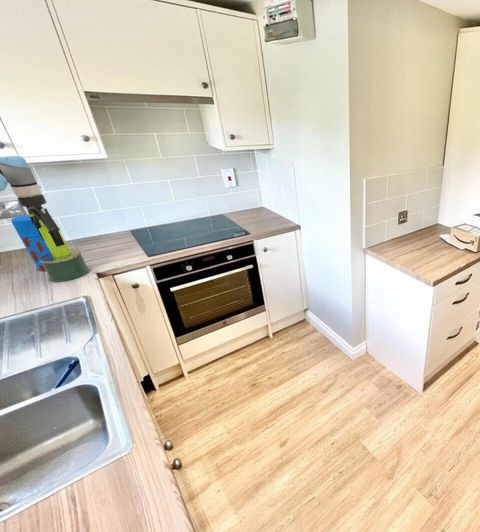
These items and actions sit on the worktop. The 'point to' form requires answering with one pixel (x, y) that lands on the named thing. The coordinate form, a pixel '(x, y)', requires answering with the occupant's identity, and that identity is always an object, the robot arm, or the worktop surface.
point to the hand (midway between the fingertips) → (53, 242)
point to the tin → (65, 266)
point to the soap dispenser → (50, 243)
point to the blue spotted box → (31, 239)
